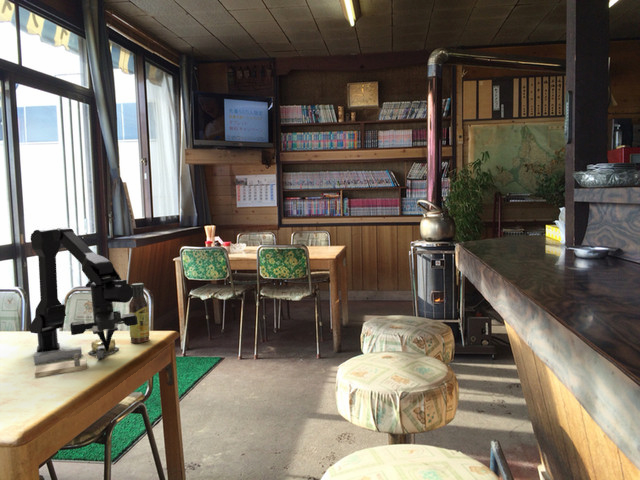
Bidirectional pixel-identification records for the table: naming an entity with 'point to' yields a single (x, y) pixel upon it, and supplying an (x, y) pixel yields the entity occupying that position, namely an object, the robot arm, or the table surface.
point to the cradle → (61, 367)
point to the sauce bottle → (139, 314)
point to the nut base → (105, 352)
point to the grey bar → (56, 355)
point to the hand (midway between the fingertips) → (107, 350)
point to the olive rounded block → (101, 348)
